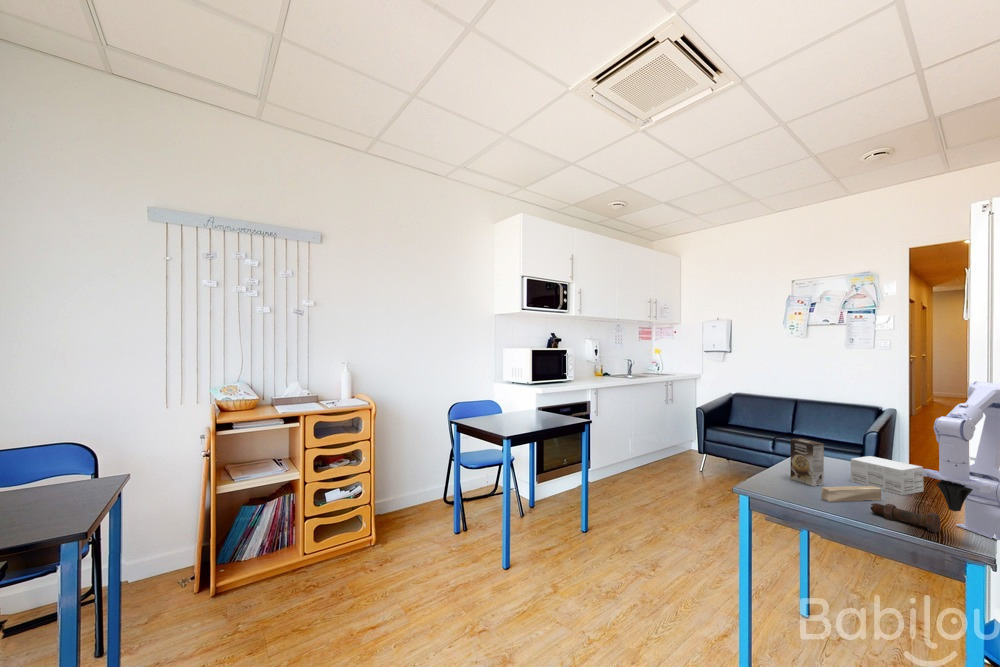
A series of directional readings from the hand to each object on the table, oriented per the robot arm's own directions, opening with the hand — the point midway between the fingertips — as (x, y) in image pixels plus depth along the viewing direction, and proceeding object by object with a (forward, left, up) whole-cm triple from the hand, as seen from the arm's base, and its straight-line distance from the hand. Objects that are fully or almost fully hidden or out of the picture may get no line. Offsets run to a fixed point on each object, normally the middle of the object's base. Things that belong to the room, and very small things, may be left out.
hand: (954, 510), depth 117 cm
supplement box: (+42, -27, -9) cm, 51 cm away
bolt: (+12, +1, -9) cm, 15 cm away
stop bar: (+31, 0, -8) cm, 32 cm away
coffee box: (+49, 0, -8) cm, 50 cm away
